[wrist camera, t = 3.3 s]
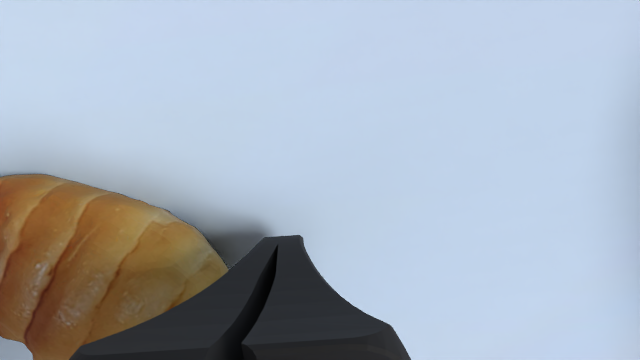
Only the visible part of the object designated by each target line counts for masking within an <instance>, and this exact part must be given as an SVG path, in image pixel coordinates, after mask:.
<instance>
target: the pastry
mask: <svg viewBox="0 0 640 360" xmlns="http://www.w3.org/2000/svg"><path fill="white" fill-rule="evenodd" d="M228 271H229V270H228V268H227V266H226V265H225V263H224V262H223V260H222V259H221V257H220V256H219V255H218V254H217V253H216V251H215V250H214V249H213V248H212V247H211V245H210V244H209V242H208V241H207V240H206V238H205V237H204V236H203V235H202V233H201V232H199V231H198V230H197V228H196V227H194V226H191V225H189V224H188V223H186V222H184V221H182V220H180V219H178V218H177V217H175V216H173V215H172V214H171V213H170V212H169V211H167V210H164V209H161V208H158V207H155V206H152V205H149V204H147V203H145V202H143V201H140V200H135V199H131V198H129V197H127V196H124V195H122V194H119V193H114V192H109V191H106V190H102V189H99V188H95V187H91V186H88V185H85V184H82V183H78V182H74V181H70V180H66V179H61V178H58V177H54V176H50V175H44V174H28V175H9V176H3V177H0V336H1V337H3V338H6V339H10V340H15V341H19V342H22V343H24V344H25V345H26V347H27V348H28V349H29V350H30V351H31V353H32V354H33V360H69V359H70V357H71V356H72V355H73V354H74V353H75V352H76V350H77V349H78V348H79V347H80V346H82V345H85V344H88V343H91V342H94V341H96V340H99V339H102V338H105V337H107V336H110V335H113V334H116V333H118V332H121V331H124V330H126V329H129V328H131V327H134V326H136V325H138V324H140V323H143V322H145V321H147V320H150V319H152V318H154V317H156V316H158V315H160V314H162V313H164V312H166V311H168V310H170V309H172V308H173V307H175V306H177V305H179V304H181V303H182V302H184V301H186V300H188V299H190V298H191V297H193V296H195V295H196V294H198V293H199V292H201V291H202V290H204V289H205V288H207V287H208V286H210V285H211V284H212V283H214V282H215V281H217V280H218V279H219V278H220V277H222V276H223V275H224V274H225V273H226V272H228Z"/></svg>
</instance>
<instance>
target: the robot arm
mask: <svg viewBox="0 0 640 360" xmlns="http://www.w3.org/2000/svg"><path fill="white" fill-rule="evenodd" d="M69 360H411V359H410V357H409V355H408V353H407V351H406V349H405V347H404V346H403V344H402V342H401V340H400V339H399V337H398V336H397V334H396V332H395V331H394V329H393V328H392V326H391V325H389V324H387V323H385V322H383V321H381V320H379V319H376V318H374V317H372V316H370V315H368V314H366V313H364V312H363V311H361V310H359V309H358V308H356V307H354V306H353V305H351V304H350V303H349V302H347V301H346V300H345V299H344V298H342V297H341V296H340V295H339V294H338V293H337V292H336V291H335V290H334V289H332V287H331V286H330V285H329V284H328V283H327V282H326V281H325V280H324V278H323V277H322V276H321V275H320V273H319V272H318V271H317V269H316V268H315V266H314V265H313V263H312V261H311V259H310V258H309V256H308V254H307V252H306V250H305V247H304V243H303V237H301V236H300V235H293V236H278V237H265V238H264V239H262V240H261V241H260V242H259V243H258V244H257V245H256V246H255V247H254V248H253V249H252V250H251V251H250V252H249V253H248V254H247V255H246V256H245V257H244V258H243V259H242V260H241V261H239V262H238V263H237V264H236V265H235V266H234V267H232V268H231V269H230V270H229V271H228V272H226V273H225V274H224V275H223V276H222V277H220V278H219V279H218V280H217V281H215V282H214V283H212V284H211V285H210V286H208V287H207V288H205V289H204V290H202V291H201V292H199V293H198V294H196V295H195V296H193V297H191V298H190V299H188V300H186V301H184V302H182V303H181V304H179V305H177V306H175V307H173V308H172V309H170V310H168V311H166V312H164V313H162V314H160V315H158V316H156V317H154V318H152V319H150V320H147V321H145V322H143V323H140V324H138V325H136V326H134V327H131V328H129V329H126V330H124V331H121V332H118V333H116V334H113V335H110V336H107V337H105V338H102V339H99V340H96V341H94V342H91V343H88V344H85V345H82V346H80V347H79V348H78V349H77V350H76V352H75V353H74V354H73V355H72V356H71V357H70V359H69Z"/></svg>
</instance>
